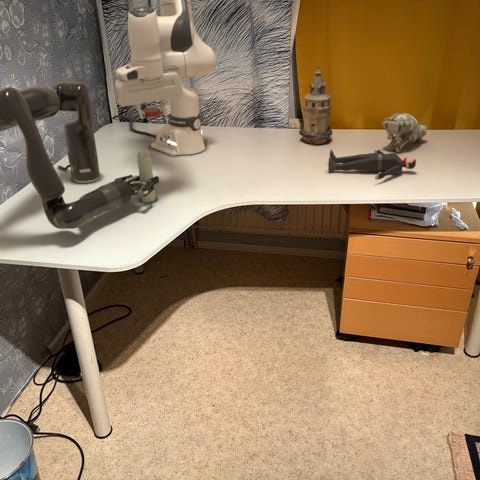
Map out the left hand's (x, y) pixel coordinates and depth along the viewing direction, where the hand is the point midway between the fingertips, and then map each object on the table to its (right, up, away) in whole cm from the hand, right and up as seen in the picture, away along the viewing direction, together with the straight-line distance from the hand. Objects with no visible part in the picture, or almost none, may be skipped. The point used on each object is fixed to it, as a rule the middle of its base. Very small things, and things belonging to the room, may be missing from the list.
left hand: (152, 177), depth 171 cm
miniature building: (+59, +21, +50) cm, 80 cm away
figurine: (+93, +17, +41) cm, 103 cm away
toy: (+75, +5, +20) cm, 78 cm away
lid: (+1, +19, -11) cm, 22 cm away
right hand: (+1, +17, -10) cm, 20 cm away
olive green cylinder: (-2, -7, +1) cm, 7 cm away
